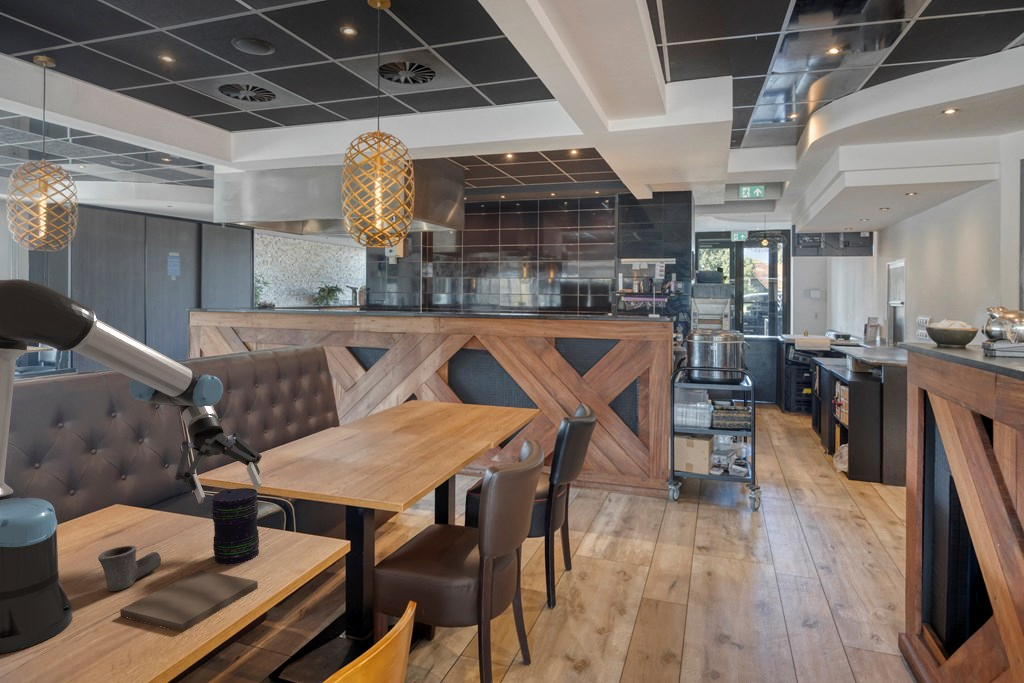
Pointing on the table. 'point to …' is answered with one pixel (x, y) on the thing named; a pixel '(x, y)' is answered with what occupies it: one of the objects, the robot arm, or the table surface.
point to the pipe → (126, 566)
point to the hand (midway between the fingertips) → (231, 493)
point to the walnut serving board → (189, 600)
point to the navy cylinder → (235, 525)
